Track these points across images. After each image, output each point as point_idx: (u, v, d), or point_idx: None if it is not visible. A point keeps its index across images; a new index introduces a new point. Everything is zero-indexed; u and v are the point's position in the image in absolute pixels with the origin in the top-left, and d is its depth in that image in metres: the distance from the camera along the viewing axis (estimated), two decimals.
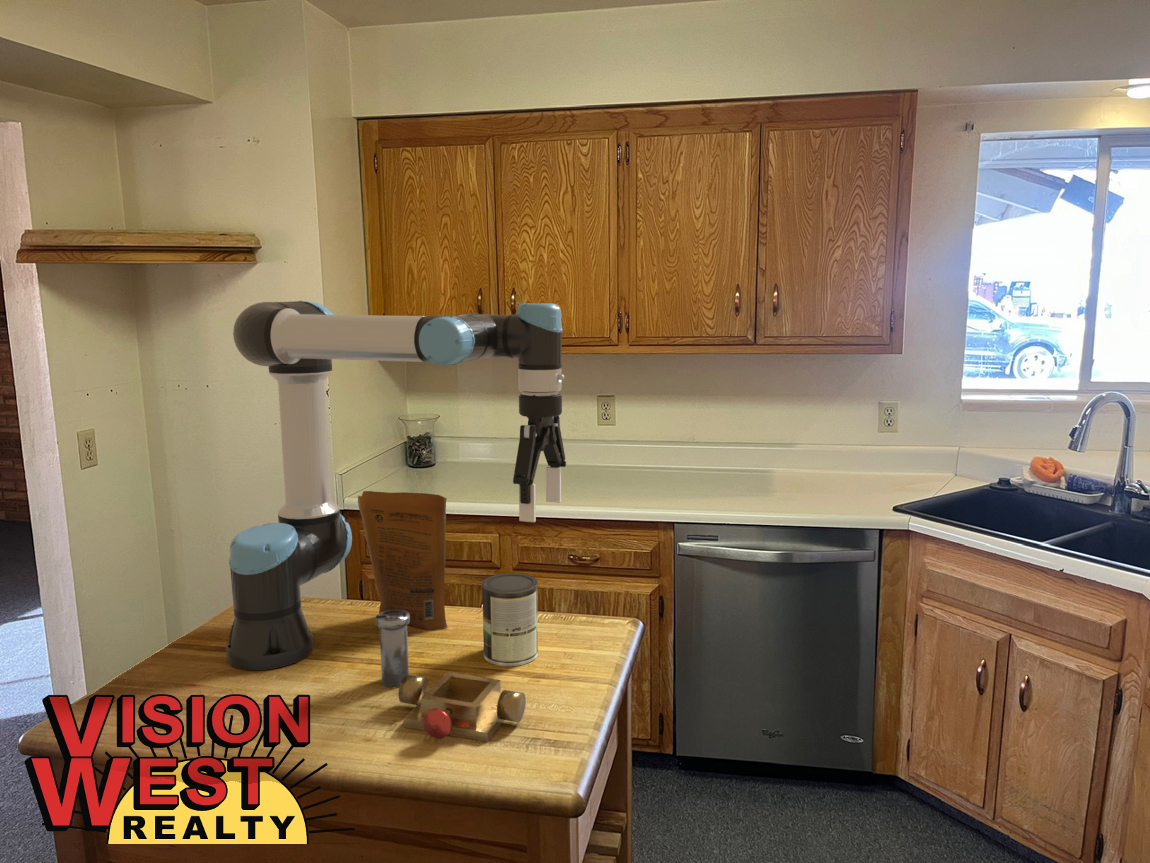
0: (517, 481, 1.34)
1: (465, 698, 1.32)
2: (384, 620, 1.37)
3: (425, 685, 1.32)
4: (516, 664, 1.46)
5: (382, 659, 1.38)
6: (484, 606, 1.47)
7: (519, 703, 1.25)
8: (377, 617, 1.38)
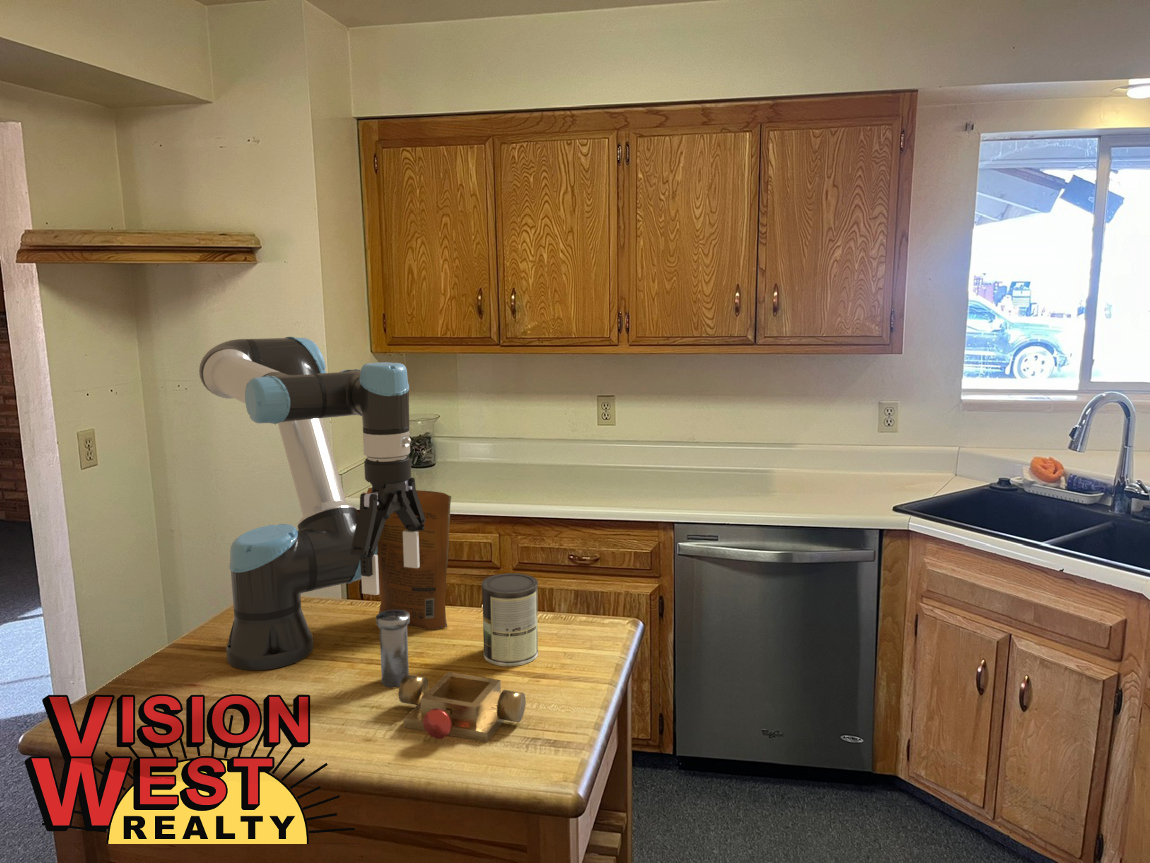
0: (355, 554, 1.27)
1: (465, 698, 1.32)
2: (384, 620, 1.37)
3: (425, 685, 1.32)
4: (516, 664, 1.46)
5: (382, 659, 1.38)
6: (484, 606, 1.47)
7: (519, 703, 1.25)
8: (377, 617, 1.38)
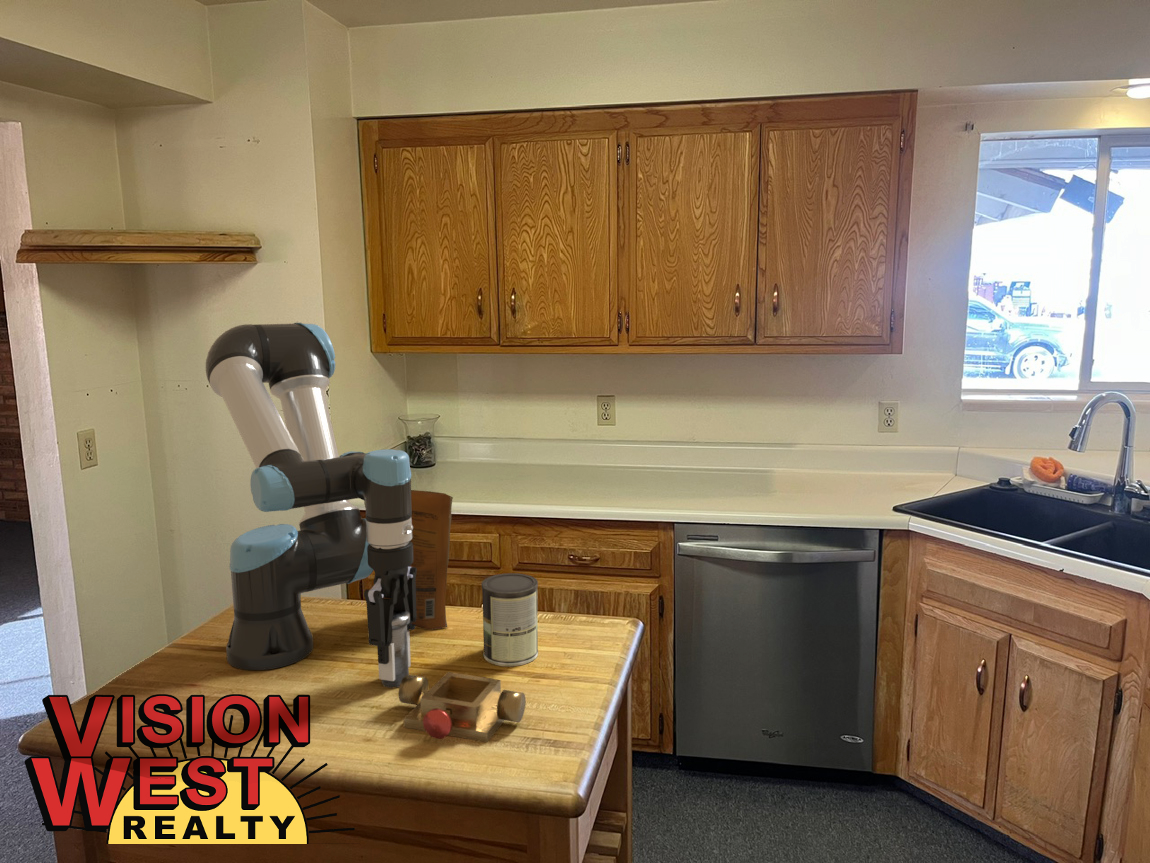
0: (372, 644, 1.34)
1: (465, 698, 1.32)
2: None
3: (425, 685, 1.32)
4: (516, 664, 1.46)
5: None
6: (484, 606, 1.47)
7: (519, 703, 1.25)
8: None
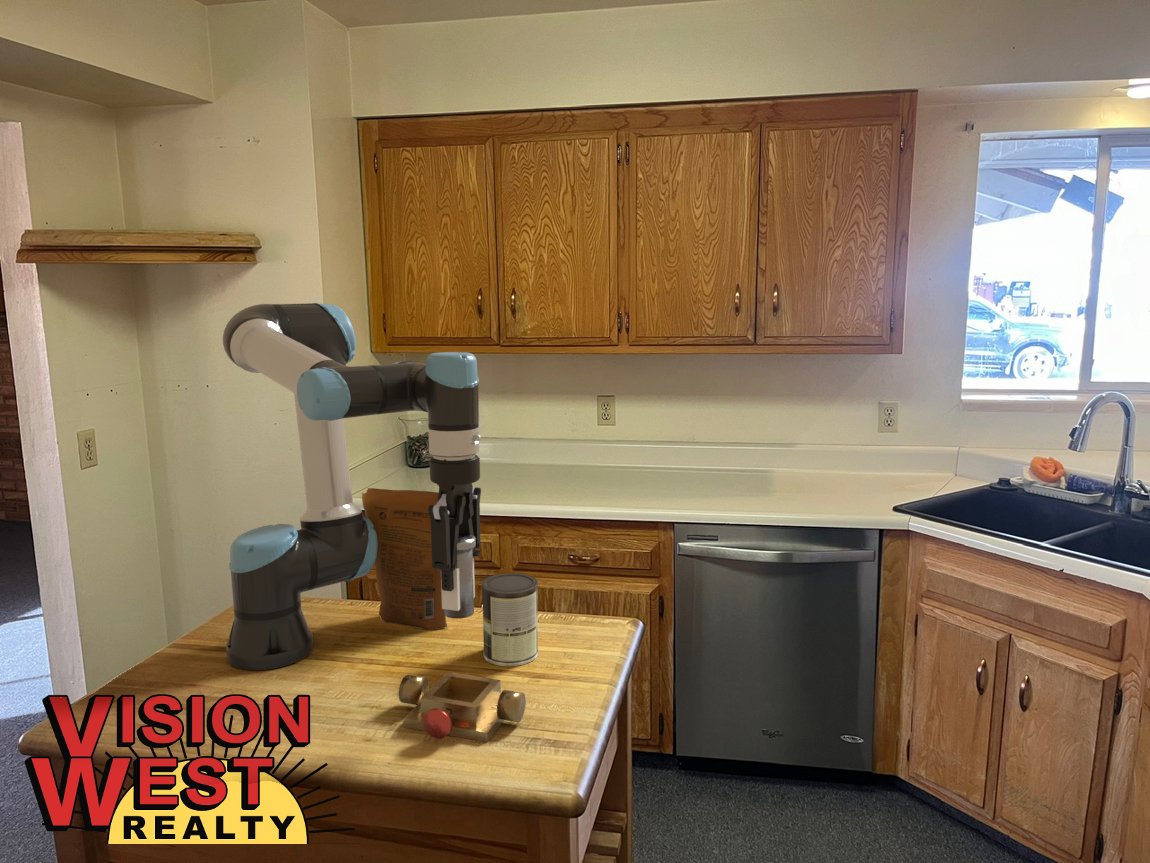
0: (437, 567, 1.20)
1: (465, 698, 1.32)
2: None
3: (425, 685, 1.32)
4: (516, 664, 1.46)
5: None
6: (484, 606, 1.47)
7: (519, 703, 1.25)
8: None
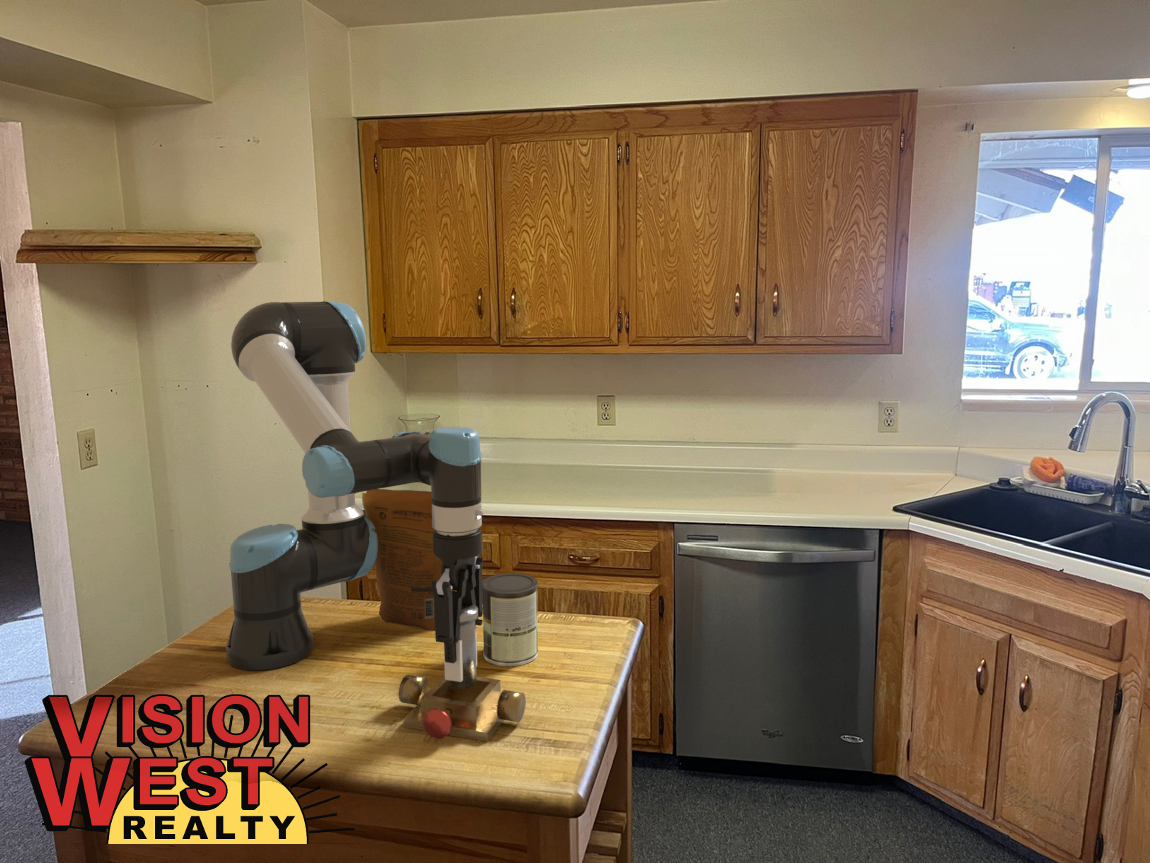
0: (440, 641, 1.21)
1: (465, 698, 1.32)
2: None
3: (425, 685, 1.32)
4: (516, 664, 1.46)
5: None
6: (484, 606, 1.47)
7: (519, 703, 1.25)
8: None
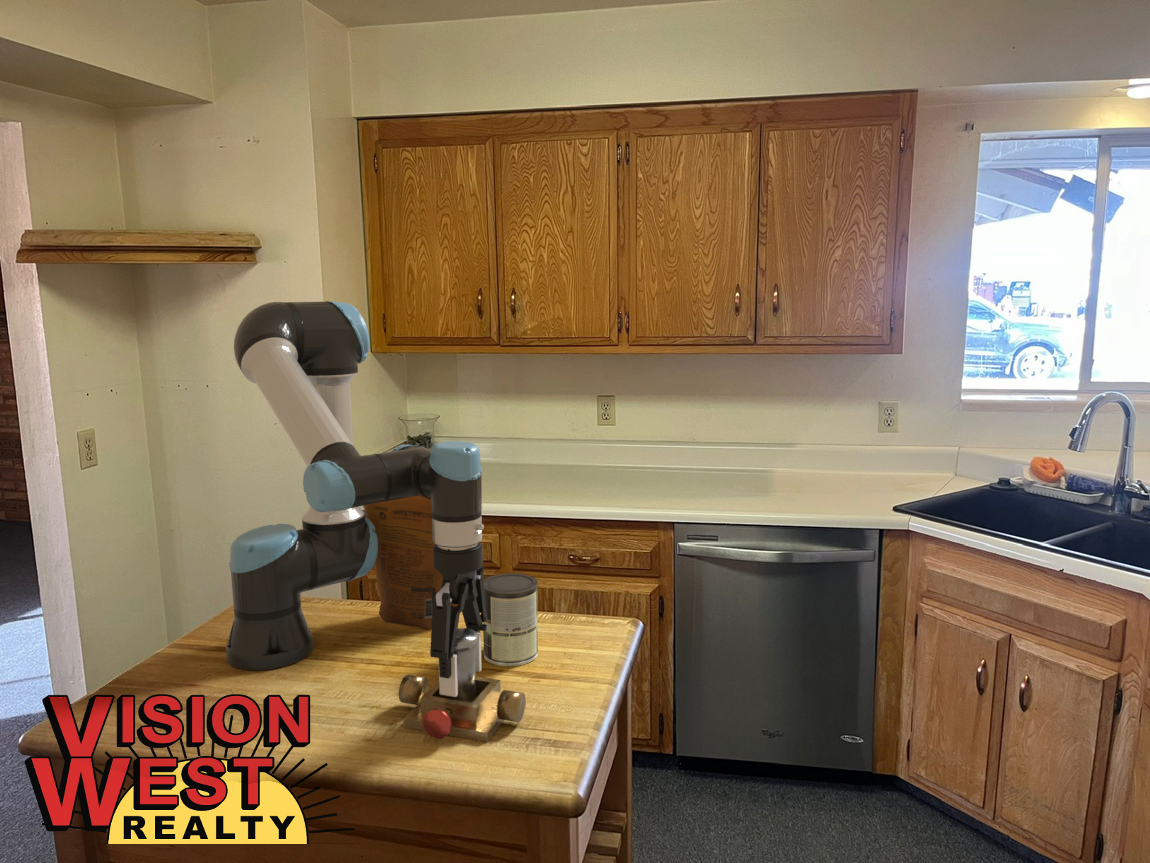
0: (434, 656, 1.20)
1: None
2: None
3: (425, 685, 1.32)
4: (516, 664, 1.46)
5: None
6: None
7: (519, 703, 1.25)
8: None
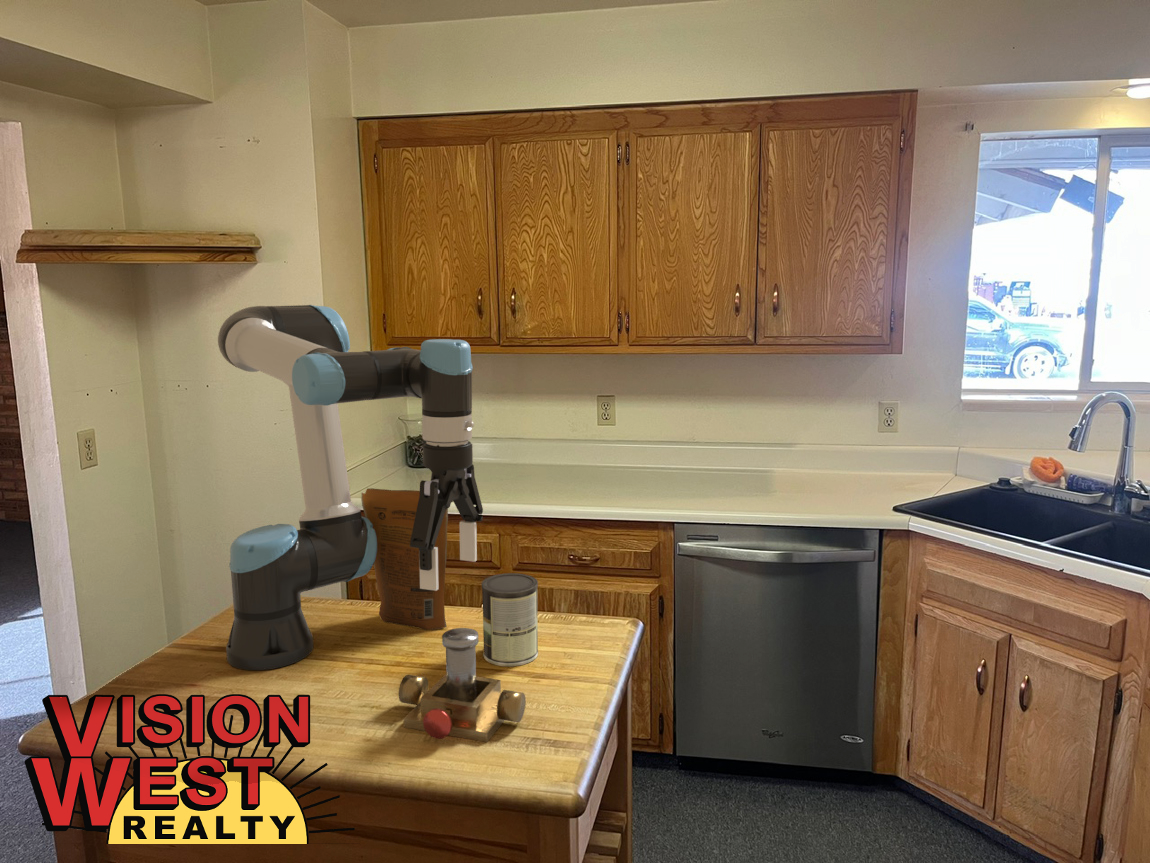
0: (414, 546, 1.17)
1: None
2: (452, 640, 1.25)
3: (425, 685, 1.32)
4: (516, 664, 1.46)
5: (449, 682, 1.27)
6: (484, 606, 1.47)
7: (519, 703, 1.25)
8: (443, 637, 1.26)
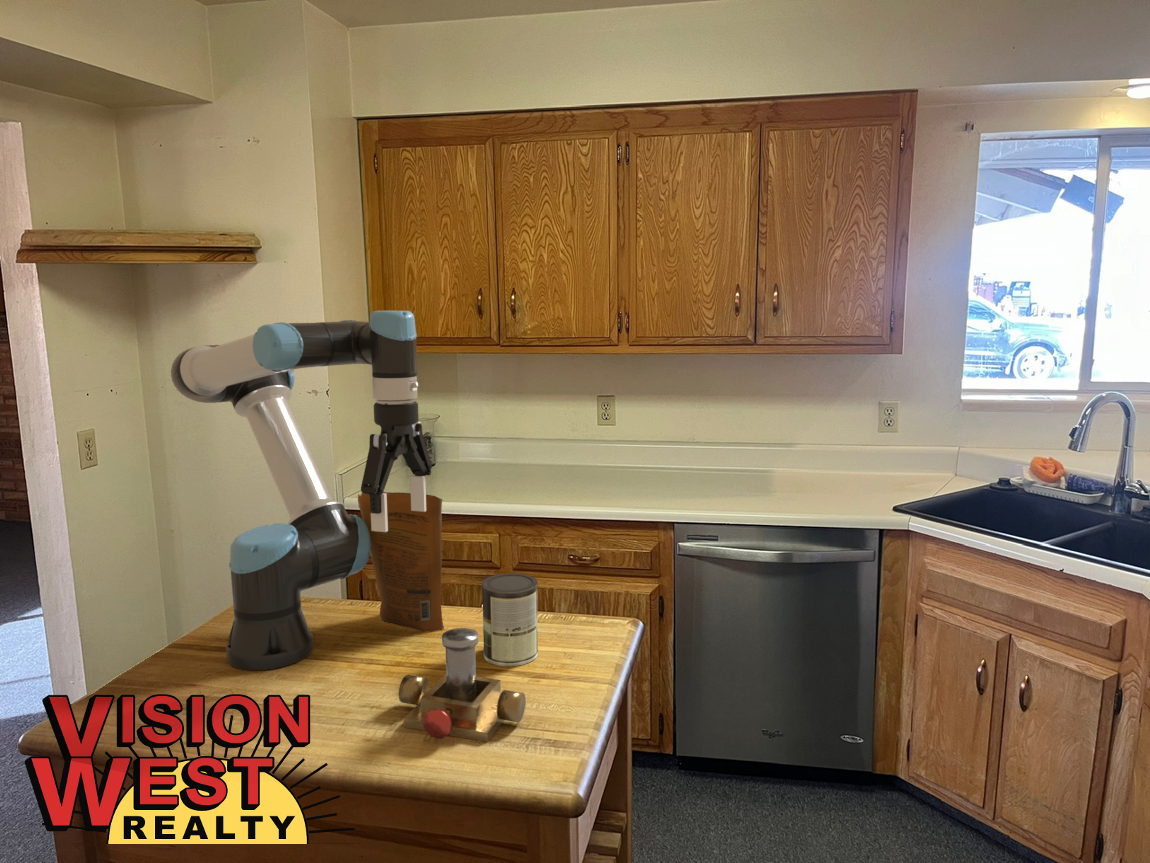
0: (364, 491, 1.33)
1: None
2: (452, 640, 1.25)
3: (425, 685, 1.32)
4: (516, 664, 1.46)
5: (448, 682, 1.27)
6: (484, 606, 1.47)
7: (519, 703, 1.25)
8: (443, 637, 1.26)
